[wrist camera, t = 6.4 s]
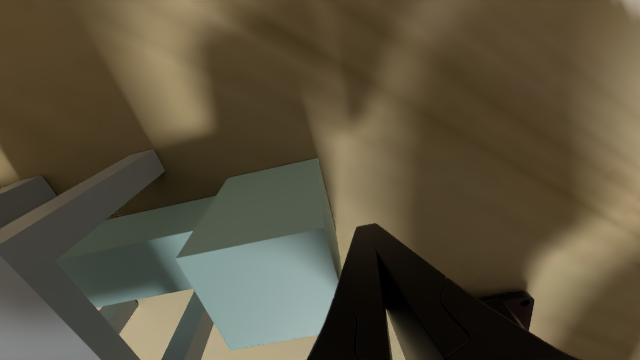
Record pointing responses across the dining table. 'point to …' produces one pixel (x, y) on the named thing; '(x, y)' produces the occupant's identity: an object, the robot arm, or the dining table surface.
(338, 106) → the dining table surface
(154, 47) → the dining table surface
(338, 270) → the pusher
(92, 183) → the cover
